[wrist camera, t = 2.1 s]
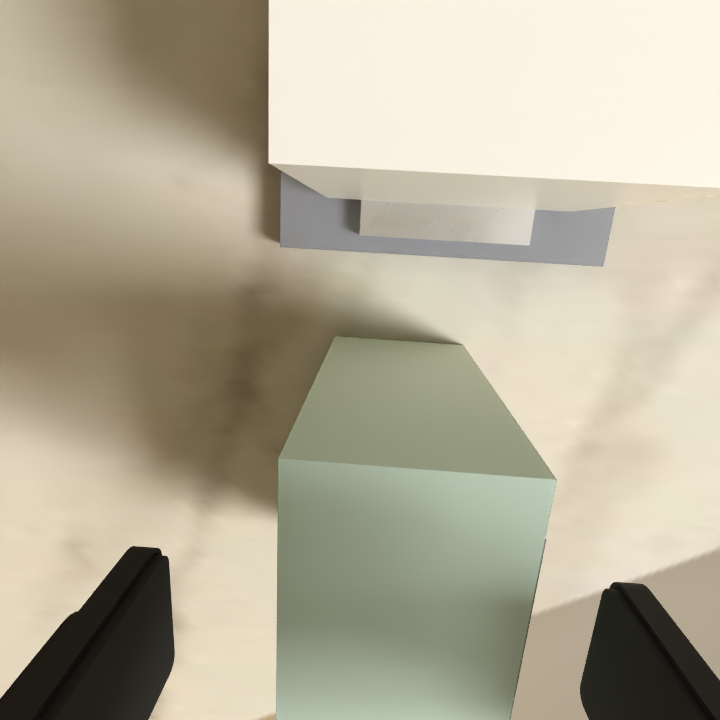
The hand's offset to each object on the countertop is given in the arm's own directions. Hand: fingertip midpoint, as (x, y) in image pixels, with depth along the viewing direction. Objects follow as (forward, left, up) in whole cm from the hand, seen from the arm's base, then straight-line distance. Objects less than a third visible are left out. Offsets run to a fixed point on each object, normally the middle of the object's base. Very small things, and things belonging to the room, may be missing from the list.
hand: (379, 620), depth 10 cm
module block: (0, 0, -8) cm, 8 cm away
